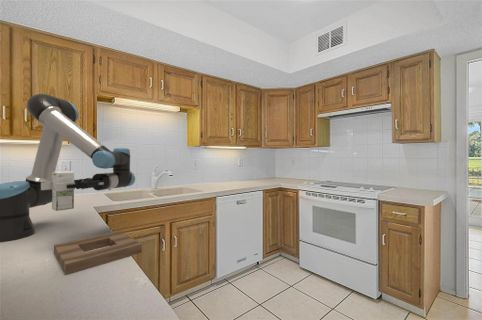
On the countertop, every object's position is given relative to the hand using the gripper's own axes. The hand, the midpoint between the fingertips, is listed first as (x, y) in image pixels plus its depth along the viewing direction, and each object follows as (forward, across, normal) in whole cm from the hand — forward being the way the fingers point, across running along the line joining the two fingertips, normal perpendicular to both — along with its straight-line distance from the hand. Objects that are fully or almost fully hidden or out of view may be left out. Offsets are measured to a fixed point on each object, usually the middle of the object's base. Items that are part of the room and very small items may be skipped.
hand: (48, 187), depth 84 cm
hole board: (-5, -19, -23) cm, 30 cm away
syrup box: (-5, 0, -9) cm, 10 cm away
